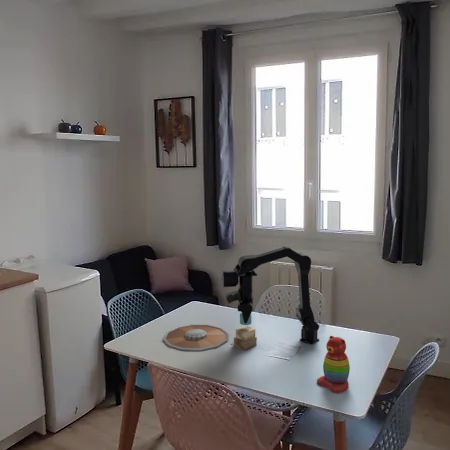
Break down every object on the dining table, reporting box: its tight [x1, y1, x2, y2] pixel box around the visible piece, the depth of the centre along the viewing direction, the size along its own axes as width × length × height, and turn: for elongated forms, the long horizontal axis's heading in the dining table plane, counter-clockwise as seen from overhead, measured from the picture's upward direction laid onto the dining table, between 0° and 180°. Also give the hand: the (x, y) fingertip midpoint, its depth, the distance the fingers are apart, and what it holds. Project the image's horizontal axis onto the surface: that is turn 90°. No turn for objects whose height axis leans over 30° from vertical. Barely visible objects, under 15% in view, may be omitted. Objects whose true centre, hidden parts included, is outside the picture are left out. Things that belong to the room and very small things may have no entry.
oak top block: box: [235, 325, 256, 341], centre depth 207 cm, size 6×6×4 cm
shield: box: [162, 323, 229, 352], centre depth 217 cm, size 30×3×30 cm
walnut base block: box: [233, 336, 258, 351], centre depth 208 cm, size 7×7×4 cm
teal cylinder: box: [239, 312, 252, 326], centre depth 206 cm, size 5×5×4 cm
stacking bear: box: [316, 335, 351, 394], centre depth 172 cm, size 11×10×18 cm
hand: (245, 320), depth 206 cm, fingers closed on teal cylinder, 5 cm apart
